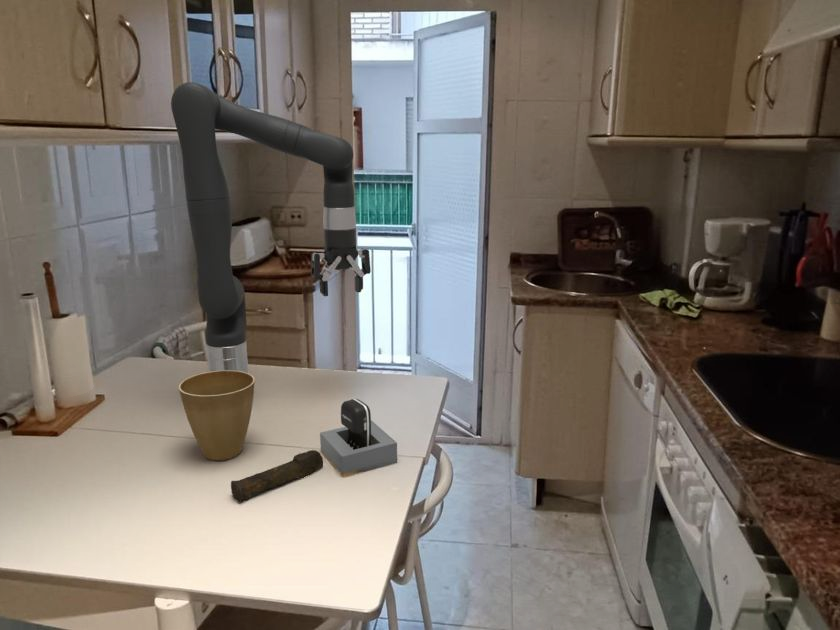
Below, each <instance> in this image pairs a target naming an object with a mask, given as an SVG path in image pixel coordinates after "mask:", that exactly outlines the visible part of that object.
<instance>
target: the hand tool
mask: <svg viewBox="0 0 840 630" xmlns="http://www.w3.org/2000/svg"><path fill="white" fill-rule="evenodd" d="M321 454H322V453H321V452H319V451H318V450H314V449H312V450H307V451H304V452H300V453H297V454H296V455H294V456H293V458H292V460H289V461H287V462H285V463H283V464H279V465H277V466H275V467H272V468H270V469H267V470H264V471H261V472H259V473H258V472H257V473H255V474H253V475H250V476H246V477H244V478H241V479H239V480H238V479H237V480H231V481H230V489H231V492H230V493H231V495H232V497H233V498H234V500H235V499H236V500H237V501H236V500H235V501H236V502H238V503H239V502H240V503H242V502H243V500H249V499H250V497H253V496H254V495H256V494H260V493H261V492H262V493H263V492H264V491H267V490H269V489H272V488H275V487H277V486H279V485H282V484H284V483H288V482H290V481H293V480H294V479H295V480H296V479H300V478H303V479H305V478H307V477H309V476H311V475H313V474H315V473H316V472H318V471H320V469H322V468H323V466H324V459H323V456H322V455H321ZM314 472H315V473H314ZM312 473H313V474H312ZM308 475H309V476H308ZM306 476H307V477H306ZM304 477H305V478H304Z"/></svg>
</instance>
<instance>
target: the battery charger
mask: <svg viewBox="0 0 840 630" xmlns="http://www.w3.org/2000/svg"><path fill="white" fill-rule="evenodd" d="M371 417H372V415H371V409H370V407H369V405H368V404H367V403H365V402H363V401H362V400H360V399H359V398H351V399H349V400H345V401H343V402H342V404H341V406H340V423H341V425H343V427H347V428H348V440H347V444H348V445H349V446H350V447H351V448H352V449H353V450H355V449H359V448H363V447H367V446H371V421H372V418H371Z"/></svg>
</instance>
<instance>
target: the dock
mask: <svg viewBox="0 0 840 630" xmlns="http://www.w3.org/2000/svg"><path fill="white" fill-rule="evenodd" d="M319 439H320V441H319V442H320V443H319V444H320V454H322V455H323V456H324V457H325V459H326V460H327V461H328V462H329V463H330V465H331V466H333V468H334V469H335V470H336V471H337V472H338V473H339V474H340V476H341V477H342V478H346V477H349V476H353V475H356V474H360V473H363V472H368V471H371V470H375V469H379V468H382V467H383V468H384V467H386V466H390V465H393V464H397V463H398V442H397V441H396V440H394V438H392V437H391V436H390V435H389V434H388V433H387V432H386V431H384V430H383V429H382V428H381V427H379V425H377V424H376V423H375V422H374V421H373V420H371V446H367V447H363V448H359V449H355V450H353V449H352V448H351V447H350V446H349V445H348V444H347V440H348V428H347V427H345V426H343V427H338V428H333V429H331V430H330V429H329V430H325V431H321V432H320V433H319Z"/></svg>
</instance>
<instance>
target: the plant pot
mask: <svg viewBox="0 0 840 630" xmlns="http://www.w3.org/2000/svg"><path fill="white" fill-rule="evenodd" d="M255 382H256V379H255V376H253V375H252V374H250V373H246V372H242V371H233V370H222V371H212V372H207V371H206V372H201V373H198V374H194V375H192V376H189V377H187V378H186V379H184V380H183V381H181V382H180V384H179V385H178V391H179V395H180V399H181V402H182V407H183V409H184V412H185V415H186V418H187V421H188V424H189V427H190V428H191V431H192V433H193V435H194V438H195V440H196V442H197V444H198V446H199V448H200V450H201V452H202V454H203V455H204V457H205V458H206V459H208V460H210V459H211V461H215V460H221V461H226V460H227V459H228V460H231V459H234V458H235V457H237V456H239V455H240V453H242V449H243V446H244V443H245V440H246V437H247V433H248V429H249V425H250V419H251V416H252V415H251V414H252V410H253V403H254V395H255V394H254V392H255V384H256V383H255ZM238 454H239V455H238ZM233 457H234V458H233Z"/></svg>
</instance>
